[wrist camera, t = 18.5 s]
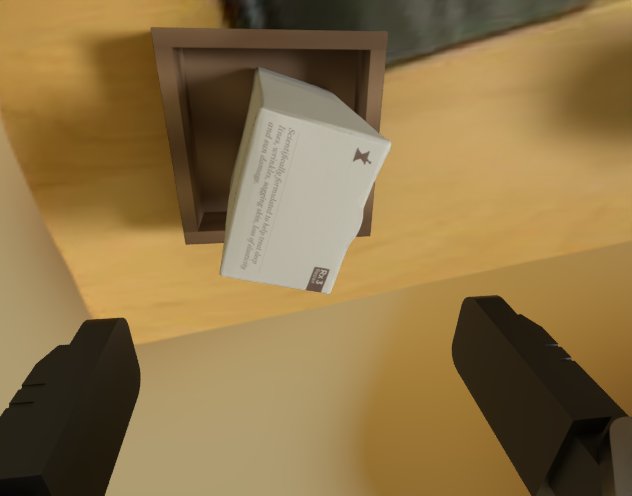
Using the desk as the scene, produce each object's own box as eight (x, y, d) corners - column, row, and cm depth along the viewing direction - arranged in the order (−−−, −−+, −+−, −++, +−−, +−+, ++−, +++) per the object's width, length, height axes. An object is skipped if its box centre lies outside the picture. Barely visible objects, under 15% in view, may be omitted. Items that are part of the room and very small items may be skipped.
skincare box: (255, 65, 27) (252, 88, 14) (336, 91, 29) (400, 135, 16) (230, 177, 31) (209, 279, 18) (303, 196, 32) (334, 302, 19)
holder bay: (166, 29, 26) (150, 27, 22) (369, 32, 28) (388, 31, 24) (194, 220, 33) (185, 244, 29) (357, 213, 34) (370, 236, 31)
